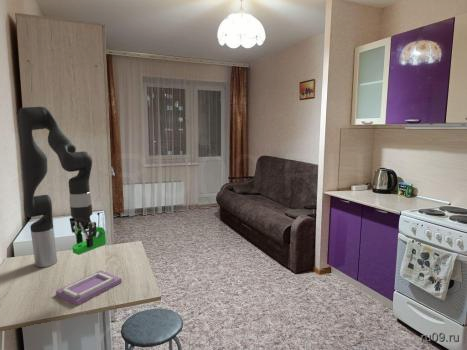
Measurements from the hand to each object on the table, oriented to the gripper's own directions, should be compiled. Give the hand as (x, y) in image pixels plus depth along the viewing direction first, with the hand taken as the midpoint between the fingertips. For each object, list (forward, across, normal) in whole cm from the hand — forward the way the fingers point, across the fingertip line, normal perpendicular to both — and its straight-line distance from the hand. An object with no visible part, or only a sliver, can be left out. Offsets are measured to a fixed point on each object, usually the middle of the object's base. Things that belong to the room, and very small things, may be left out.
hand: (84, 245), depth 127 cm
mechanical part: (+2, 0, +1) cm, 2 cm away
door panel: (+19, -1, +1) cm, 19 cm away
